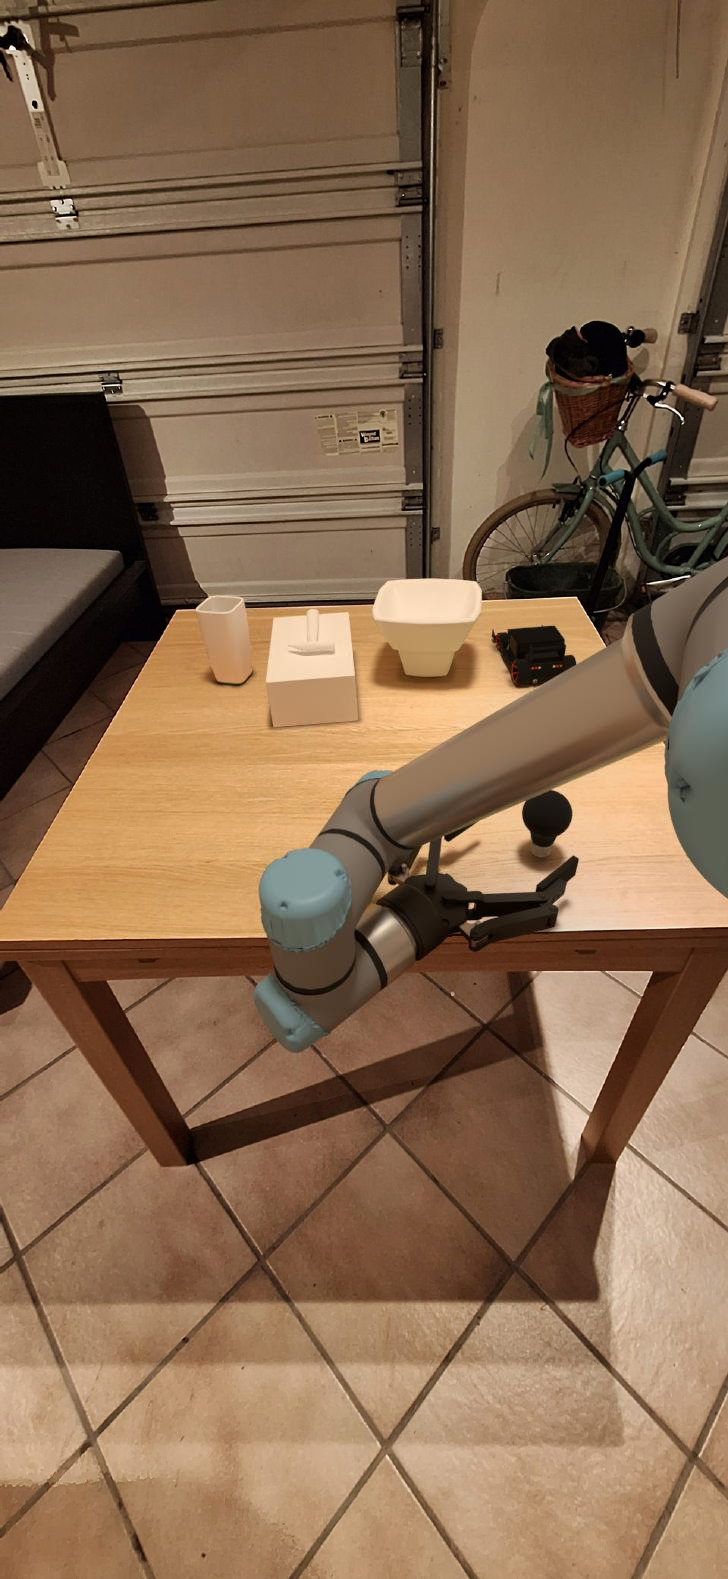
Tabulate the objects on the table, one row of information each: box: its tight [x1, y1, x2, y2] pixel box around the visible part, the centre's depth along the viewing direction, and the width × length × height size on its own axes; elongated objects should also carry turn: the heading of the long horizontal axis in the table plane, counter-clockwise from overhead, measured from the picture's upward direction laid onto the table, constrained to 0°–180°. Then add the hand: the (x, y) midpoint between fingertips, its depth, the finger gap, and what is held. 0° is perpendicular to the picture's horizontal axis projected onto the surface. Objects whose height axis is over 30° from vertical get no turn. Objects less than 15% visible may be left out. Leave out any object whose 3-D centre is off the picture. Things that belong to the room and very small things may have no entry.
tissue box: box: [265, 608, 359, 728], centre depth 114 cm, size 14×25×11 cm, turn 3°
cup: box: [195, 595, 253, 685], centre depth 117 cm, size 7×7×15 cm
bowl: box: [371, 578, 483, 678], centre depth 115 cm, size 19×19×14 cm
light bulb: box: [521, 789, 573, 858], centre depth 78 cm, size 6×6×10 cm
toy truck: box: [491, 624, 577, 686], centre depth 118 cm, size 10×20×7 cm, turn 4°
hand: (526, 834), depth 75 cm, fingers open, 13 cm apart
